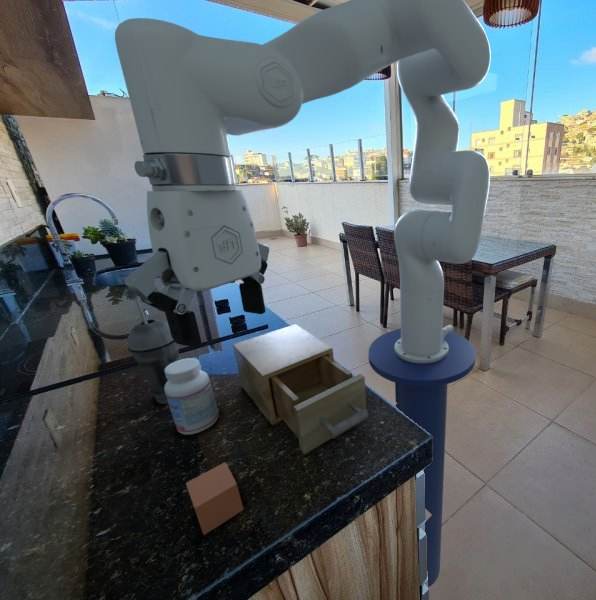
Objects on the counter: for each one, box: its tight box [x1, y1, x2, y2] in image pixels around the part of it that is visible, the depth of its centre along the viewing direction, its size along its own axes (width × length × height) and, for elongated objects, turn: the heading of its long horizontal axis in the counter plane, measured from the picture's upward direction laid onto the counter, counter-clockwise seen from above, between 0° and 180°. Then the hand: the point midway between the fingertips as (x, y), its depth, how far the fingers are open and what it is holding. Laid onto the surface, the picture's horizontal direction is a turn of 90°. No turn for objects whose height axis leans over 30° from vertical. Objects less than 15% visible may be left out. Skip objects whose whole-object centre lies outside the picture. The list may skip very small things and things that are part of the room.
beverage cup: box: [127, 298, 181, 405], centre depth 57 cm, size 7×7×20 cm
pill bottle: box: [164, 357, 220, 436], centre depth 52 cm, size 6×6×11 cm
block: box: [185, 461, 244, 536], centre depth 38 cm, size 4×4×4 cm
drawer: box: [268, 355, 369, 455], centre depth 51 cm, size 18×11×8 cm, turn 43°
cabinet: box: [232, 323, 335, 426], centre depth 60 cm, size 15×13×10 cm
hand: (225, 326), depth 39 cm, fingers open, 9 cm apart
